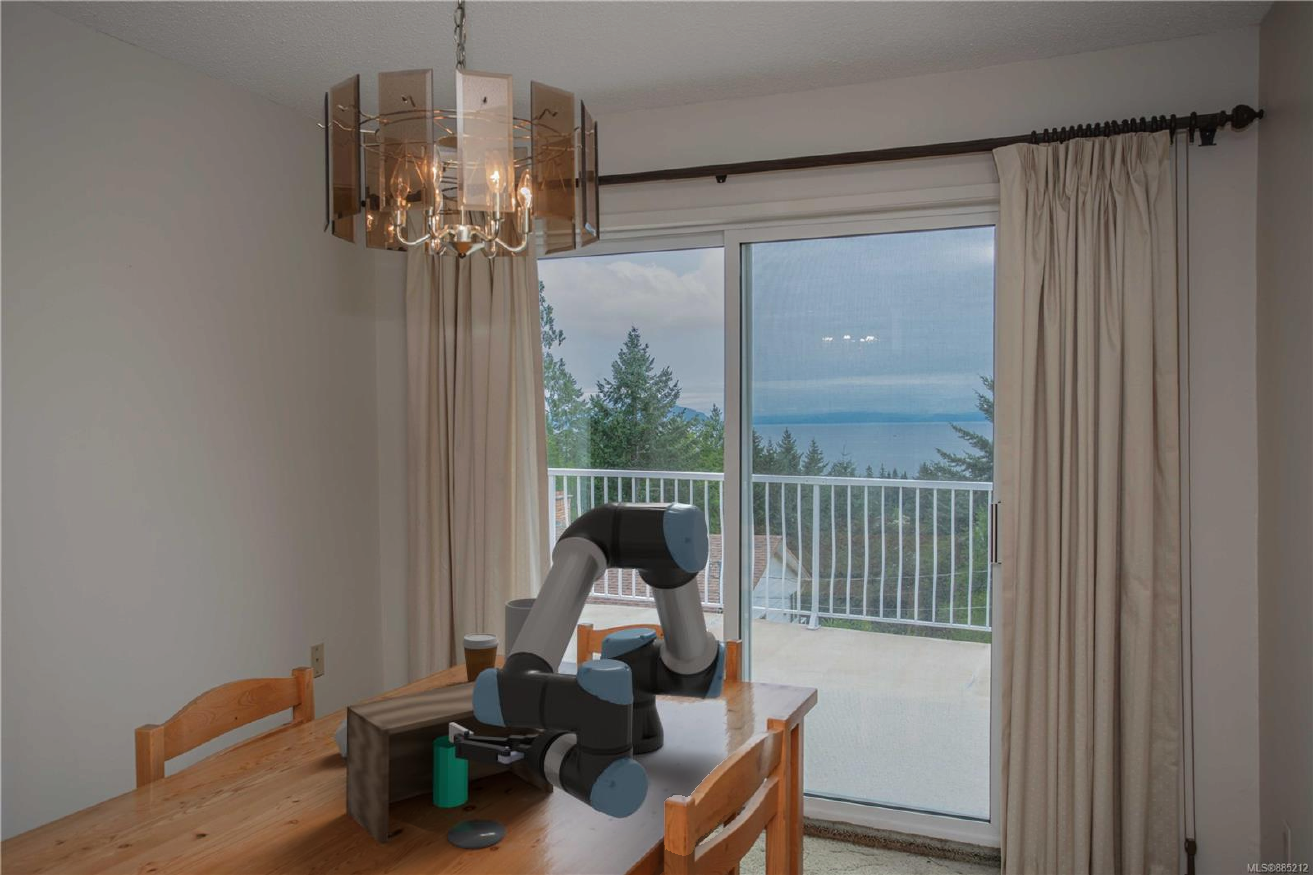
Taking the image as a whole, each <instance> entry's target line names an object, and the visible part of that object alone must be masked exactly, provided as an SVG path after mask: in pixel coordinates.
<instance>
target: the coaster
mask: <svg viewBox="0 0 1313 875" xmlns="http://www.w3.org/2000/svg"><path fill="white" fill-rule="evenodd" d="M505 836H506V827H505V826H504V824H502V823H501V822H499V821H497V820H494V819H486V818H480V819H479V818H478V819H470V820H465V821H462V822H459V823H456V824H455V825H454V826H452V827H451V828H450V829H449V830H448V832H447V839H448V840H447V841H448V842H449V843H450V844H451V845H452V846H454V847H456V848H457V847H458V848H460V849H461V848H462V849H469V850H470V849H471V850H472V849H481V848H482V849H483V848H487V847H489V846H493V845H496V844H497V843H499V842H500V841H502V840H503V839H504V837H505Z"/></svg>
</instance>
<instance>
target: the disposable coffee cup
mask: <svg viewBox="0 0 1313 875" xmlns="http://www.w3.org/2000/svg"><path fill="white" fill-rule="evenodd" d="M499 643H500V640H499V637H498V635H497V634H494V633H490V632H489V633H488V632H487V633H486V632H481V633H480V632H479V633H478V632H477V633H470V634H467V635H465V636H464V637H463V639H462V642H461V645H462V647H463V650H464V660H465V662H464V663H465V670H466V676H467V683H470V682H475V681H476V679H477V677H478V675H479V674H480V673H481V672H483V671H484V670H485V669H493V668H496V667H495V666H496V661H497V660H496V659H497V652H498V646H499Z"/></svg>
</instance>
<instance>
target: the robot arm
mask: <svg viewBox="0 0 1313 875" xmlns="http://www.w3.org/2000/svg"><path fill="white" fill-rule="evenodd" d="M709 542H710V541H709V537H708V525H707V521H706V519H705V516H704V514H703V512H702V510H701V509H700V508H699V507H698V506H696V505H694V504H689V503H680V502H674V501H673V502H636V501H635V502H632V501H630V502H628V501H627V502H626V501H625V502H624V501H611V502H606V503H602V504H599V505H597V506H594V507H593V508H590V509H589V510H588V511H585V512H584V513H583V514H582V515H580V516H579V517H578V518H576V519H575V520H573V521H572V523H571V524H570V525H569V526H568V527H566V529H565V530H564V531H563V532H562V533H561V535H560V536H559V538H558V539H557V541H556V542H555V545H554V547H553V550H552V553H551V560H552V565H551V567H550V569H549V571H548V574H547V575H546V577H545V579H544V581H543V584H542V585H541V588H540V590H539V592H538V594H537V596H536V600H535V602H534V604H533V607H532V609H531V611H530V613H529V615H528V617H527V619H526V621H525V623H524V625H523V627H522V629H521V631H520V633H519V636H518V638H517V640H516V642H515V644H514V646H513V648H512V650H511V652H510V654H509V656H508V658H507V660H506V662H505V661H504V664H503V666H502V668H498V667H495V668H493V669H485V670H484V671H483V672H481V673H480V674H479V675H478V677H477V679H476V681H475V684H474V688H473V694H472V707H473V710H474V715H475V717H476V718H477V719H478V720H479V721H480V722H482V723H486V724H491V725H497V726H502V727H521V728H534V729H537V730H539V731H541V733H540V734H534V735H526V736H518V735H511V736H510V737H509V738H498V737H484V736H474V733H473V732H471V731H469V730H467V729H465V728H463V727H462V726H460V725H458V724H456V723H454V722H452V723H449V741H451V742H453V743H454V745H455V758H459V759H464V760H470V761H475V762H481V763H486V764H492V765H497V766H499V767H501V768H504V769H508V768H510V767H511V762H512V761H519V762H524V763H526V764H528V766H529V768H530V769H531V771H532V772H533V774H534V775H535V776H536V777H538V778H540V779H541V780H543V781H545V782H547V783H549V784H551V785H553V787H555V788H557V789H559V790H561V791H562V792H564V793H567V794H568V795H570V796H572V797H573V798H575V799H577V800H579V801H580V802H582V803H584V804H586V805H587V806H589V807H591V808H592V809H593V810H595V811H596V812H597V813H598V812H599V813H602V814H604V815H607V816H609V817H612V818H616V819H624V818H628V817H629V816H632V815H633V814H635V813H636V812H638V810H639V809H640V808H641V807H642V806H643V804H644V803H645V800H646V798H647V795H648V792H649V786H650V783H649V776H648V774H647V772H646V769H645V768H644V766H643V765H642V764H641V763H640V762H638V760H636V759H634V758H633V757H634V756H633V755H637V754H636V753H639V754H644V753H643V752H645V753H648V752H647V751H649V752H653V751H655V750H658V749H659V748H660V746H661V747H662V746H663V745H664V743H665V742H664V740H665V738H664V736H665V731H664V728H663V725H662V722H661V719H660V715H659V711H658V709H657V704H656V703H657V701H656V700H657V699H656V698H657V696H668V697H678V698H679V697H681V698H693V699H700V700H707V699H709V700H710V699H711V700H716V699H718V698H720V697H721V695H722V692H723V687H724V681H725V680H724V679H725V670H726V663H727V662H726V661H727V650H728V644H727V643H726V642H725V641H722V640H720V639H719V640H718V639H716V637H715V635H714V633H712V631H711V630H710V629H708V628H707V626H706V625H707V624H706V619H705V615H704V609H703V605H702V600H701V595H700V594H701V593H700V588H699V584H698V583H699V582H698V577H697V576H698V575H699V573H700V572H701V571H703V570H705V568H706V566H707V563H708V560H709V551H710V549H709V547H710V544H709ZM609 569H622V570H637V571H638V575H639V577H640V579H641V580H642V581H643V582H644V583H645V584H646V585H648V586H649V587H651V592H652V596H653V600H654V604H655V607H656V612H657V615H658V620H659V624H660V628H661V633H662V636H663V637H658V633H657V631H656V629H654V628H649V627H636V628H635V627H633V628H626V629H621V630H618V631H614V632H612V633H609V634H607V635H606V636H604V638H603V640H602V641H601V646H600V647H601V651H600V656H599V659H590V660H586V661H583V662H582V663H580V664H579V665H578V667H577V670H576V674H573V673H572V674H571V673H560V672H558V673H557V670H558V671H559V667H560V665H561V663H562V660H563V659H564V656H565V654H566V651H567V648H568V646H569V644H570V642H571V639H572V638H573V634H574V632H575V630H576V627H577V624H578V623H579V620H580V618H581V616H582V612H583V610H584V608H585V606H586V603H587V601H588V599H589V596H590V594H591V591H592V589H593V586H594V584H595V583H596V582H597V581H599V580H600V579H602V577H603V576H604V575H605V574H606V571H607V570H609ZM514 741H516V742H517V747H516V751H515V752H514ZM663 742H664V743H663ZM657 748H658V749H657Z"/></svg>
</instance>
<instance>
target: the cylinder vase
mask: <svg viewBox="0 0 1313 875" xmlns="http://www.w3.org/2000/svg"><path fill="white" fill-rule="evenodd" d="M536 598H537V597H536ZM536 598H535V597H532V598H531V597H530V598H516V599H511V600H508V601H505V603H504V663H505V662H506V660H507V658H508V656H509V654H510V652H511V650H512V648H513V646H514V644H515V642H516V640H517V638H518V636H519V633H520V631H521V629H522V627H523V625H524V623H525V621H526V619H527V617H528V615H529V613H530V611H531V609H532V607H533V604H534V602H535V600H536ZM557 673H559V669H558V670H557Z"/></svg>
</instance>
